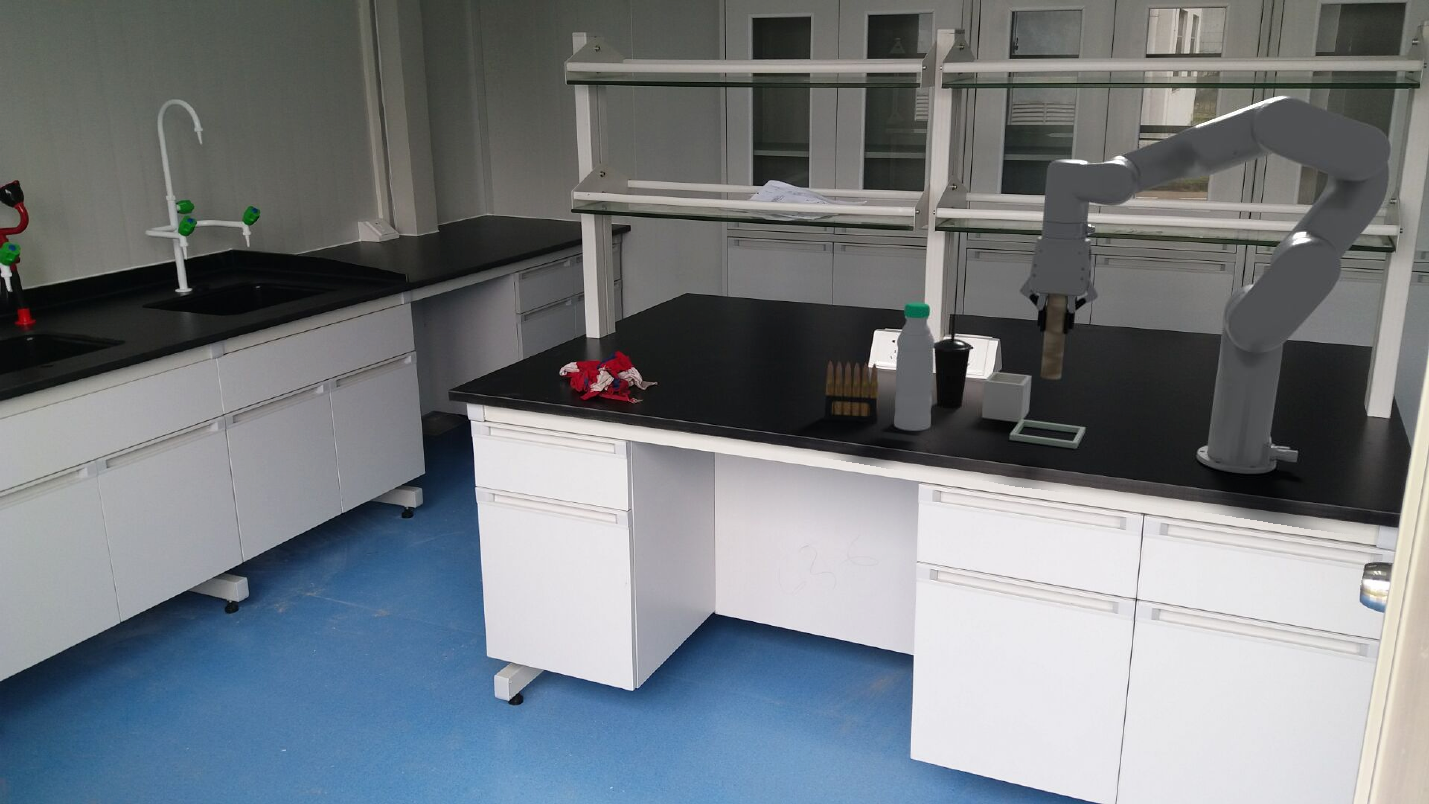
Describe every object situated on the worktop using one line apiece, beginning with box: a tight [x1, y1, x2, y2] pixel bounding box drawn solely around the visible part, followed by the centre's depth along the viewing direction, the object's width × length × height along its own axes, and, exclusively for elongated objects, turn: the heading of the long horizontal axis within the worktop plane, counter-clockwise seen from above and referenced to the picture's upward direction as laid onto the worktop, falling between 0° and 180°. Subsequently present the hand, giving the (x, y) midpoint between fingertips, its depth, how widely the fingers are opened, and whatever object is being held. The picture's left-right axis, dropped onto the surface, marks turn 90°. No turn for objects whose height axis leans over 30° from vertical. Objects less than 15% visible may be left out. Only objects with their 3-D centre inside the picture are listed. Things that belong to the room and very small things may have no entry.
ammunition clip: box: [823, 360, 879, 424], centre depth 211 cm, size 11×2×12 cm, turn 75°
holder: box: [981, 371, 1032, 423], centre depth 210 cm, size 8×8×8 cm
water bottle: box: [893, 302, 935, 432], centre depth 202 cm, size 7×7×25 cm
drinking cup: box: [933, 313, 973, 409], centre depth 215 cm, size 8×8×20 cm
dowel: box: [1040, 294, 1068, 380], centre depth 192 cm, size 4×4×18 cm
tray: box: [1009, 419, 1086, 449], centre depth 198 cm, size 12×10×2 cm
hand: (1055, 330), depth 192 cm, fingers closed on dowel, 3 cm apart
